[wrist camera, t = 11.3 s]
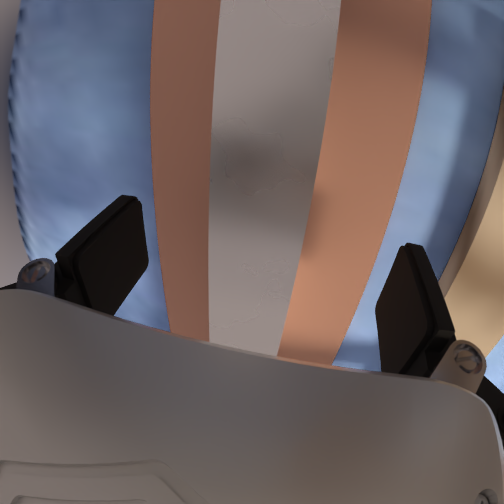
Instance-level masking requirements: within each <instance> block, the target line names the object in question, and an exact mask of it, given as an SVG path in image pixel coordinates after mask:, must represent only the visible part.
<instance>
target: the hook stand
mask: <svg viewBox="0 0 504 504" xmlns="http://www.w3.org/2000/svg"><path fill="white" fill-rule="evenodd" d="M438 284H439V286H440V289H441V291H442V294H443V297H444V299H445V302H446V305H447V308H448V310H449V313H450V316H451V319H452V322H453V325H454V328H455V331H456V332H455V336H456V340H466V341H470V342H471V343H473V344H475V345H476V346H477V347H478V348H479V349H480V350H481V352H482V353H483V355H484V357H485V358H486V356H487V355H488V354H489V353H490V351H491V350H492V349H493V348H494V346H495V345H496V344H497V343H498V341H499V340H500V339H501V337H502V336H503V335H504V87H503V93H502V99H501V104H500V110H499V114H498V119H497V123H496V128H495V132H494V136H493V140H492V144H491V148H490V151H489V155H488V158H487V162H486V165H485V168H484V172H483V175H482V178H481V181H480V184H479V187H478V190H477V193H476V196H475V198H474V201H473V204H472V207H471V209H470V212H469V214H468V217H467V220H466V222H465V225H464V227H463V229H462V232H461V234H460V237H459V239H458V241H457V244H456V246H455V248H454V250H453V252H452V255H451V257H450V259H449V261H448V263H447V265H446V267H445V269H444V272H443V274H442V276H441V278H440V280H439V282H438Z"/></svg>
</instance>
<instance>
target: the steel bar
mask: <svg viewBox="0 0 504 504" xmlns="http://www.w3.org/2000/svg"><path fill="white" fill-rule="evenodd" d="M340 6H341V0H221V4H220V15H219V25H218V37H217V49H216V62H215V77H214V92H213V110H212V130H211V154H210V185H209V248H208V278H209V341H210V342H211V343H215V344H220V345H224V346H229V347H233V348H238V349H242V350H247V351H252V352H257V353H262V354H267V355H272V356H277V353H278V349H279V345H280V341H281V337H282V333H283V329H284V325H285V321H286V317H287V312H288V308H289V304H290V300H291V295H292V291H293V287H294V282H295V278H296V273H297V269H298V264H299V259H300V255H301V250H302V245H303V240H304V236H305V231H306V226H307V221H308V216H309V211H310V206H311V200H312V195H313V190H314V184H315V179H316V174H317V168H318V162H319V157H320V151H321V145H322V139H323V133H324V127H325V121H326V114H327V108H328V101H329V94H330V87H331V80H332V73H333V66H334V58H335V50H336V42H337V34H338V25H339V16H340Z"/></svg>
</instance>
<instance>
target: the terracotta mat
mask: <svg viewBox="0 0 504 504" xmlns="http://www.w3.org/2000/svg"><path fill="white" fill-rule="evenodd" d="M220 4H221V0H155V2H154V14H153V28H152V45H151V74H150V126H151V156H152V175H153V191H154V204H155V216H156V227H157V237H158V246H159V255H160V263H161V271H162V279H163V286H164V293H165V300H166V307H167V313H168V319H169V325H170V331H171V333H175V334H179V335H183V336H186V337H190V338H194V339H199V340H203V341H207V342H210V341H209V278H208V248H209V185H210V154H211V130H212V110H213V92H214V77H215V62H216V49H217V37H218V25H219V15H220ZM431 7H432V0H341V6H340V16H339V25H338V34H337V42H336V50H335V58H334V66H333V73H332V80H331V87H330V94H329V101H328V108H327V114H326V121H325V127H324V133H323V139H322V145H321V151H320V157H319V162H318V168H317V174H316V179H315V184H314V190H313V195H312V200H311V206H310V211H309V216H308V221H307V226H306V231H305V236H304V240H303V245H302V250H301V255H300V259H299V264H298V269H297V273H296V278H295V282H294V287H293V291H292V295H291V300H290V304H289V308H288V312H287V317H286V321H285V325H284V329H283V333H282V337H281V341H280V345H279V349H278V353H277V356H278V357H283V358H289V359H294V360H300V361H306V362H312V363H318V364H325V365H332V363H333V361H334V358H335V356H336V354H337V352H338V350H339V348H340V346H341V343H342V341H343V339H344V337H345V335H346V332H347V330H348V328H349V325H350V323H351V321H352V319H353V316H354V314H355V311H356V309H357V307H358V304H359V302H360V299H361V297H362V294H363V292H364V289H365V287H366V284H367V282H368V279H369V276H370V274H371V271H372V268H373V266H374V263H375V260H376V257H377V255H378V252H379V249H380V246H381V243H382V240H383V237H384V234H385V231H386V228H387V225H388V222H389V219H390V216H391V213H392V210H393V206H394V203H395V200H396V196H397V193H398V189H399V186H400V182H401V179H402V175H403V171H404V167H405V164H406V160H407V156H408V152H409V148H410V143H411V139H412V135H413V130H414V126H415V121H416V116H417V111H418V106H419V101H420V95H421V90H422V84H423V78H424V71H425V65H426V57H427V49H428V41H429V31H430V20H431Z"/></svg>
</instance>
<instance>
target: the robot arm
mask: <svg viewBox="0 0 504 504" xmlns="http://www.w3.org/2000/svg"><path fill="white" fill-rule="evenodd" d="M55 255H56V258H57V262H56V263H55V264H54V263H53V261H52V260H50V259H47V258H40V259H36V260H33V261H31V262H29V263H28V264H26V265H25V266H24V267H23V268H22V269H21V270H20V272H19V274H18V278H17V283H14V284H11V285H8V286H5V287H2V288H0V504H504V394H503V393H502V392H501V391H500V390H499V389H498V388H497V387H496V386H495V385H494V384H493V383H491V382H490V381H489V380H488V379H487V378H486V377H485V376H484V374H485V371H486V367H487V366H486V360H485V357H484V355H483V353H482V352H481V350H480V349H479V348H478V347H477V346H476V345H475V344H473V343H471V342H470V341H466V340H456V336H455V332H456V331H455V328H454V325H453V322H452V319H451V316H450V313H449V310H448V308H447V305H446V302H445V299H444V297H443V294H442V291H441V289H440V286H439V284H438V281H437V279H436V276H435V274H434V271H433V269H432V266H431V264H430V262H429V259H428V257H427V255H426V252H425V250H424V248H423V246H421V245H416V244H412V243H406V245H405V246H401V247H400V248H399V251H398V253H397V256H396V258H395V261H394V263H393V266H392V268H391V271H390V273H389V276H388V278H387V280H386V283H385V285H384V287H383V290H382V292H381V294H380V296H379V299H378V301H377V303H376V308H375V314H376V322H377V330H378V339H379V349H380V360H381V372H377V371H368V370H361V369H354V368H346V367H339V366H332V365H325V364H318V363H312V362H306V361H300V360H294V359H289V358H283V357H278V356H272V355H267V354H262V353H257V352H252V351H247V350H242V349H238V348H233V347H229V346H224V345H220V344H215V343H211V342H207V341H203V340H199V339H194V338H190V337H186V336H183V335H179V334H175V333H171V332H167V331H164V330H160V329H156V328H153V327H149V326H146V325H142V324H139V323H135V322H132V321H128V320H125V319H122V318H119V317H115V316H114V314H115V313H116V311H117V310H118V309H119V307H120V306H121V304H122V303H123V301H124V300H125V298H126V297H127V296H128V294H129V293H130V291H131V290H132V288H133V287H134V286H135V284H136V283H137V281H138V280H139V279H140V277H141V276H142V274H143V273H144V272H145V270H146V269H147V267H148V262H149V259H148V252H147V245H146V237H145V229H144V221H143V212H142V204H141V202H140V201H138V199H137V197H135V196H127V195H121V196H120V197H118V198H117V199H116V200H115V201H114V202H112V203H111V204H110V205H109V206H108V207H106V208H105V209H104V210H103V211H102V212H101V213H99V214H98V215H97V216H96V217H95V218H94V219H92V220H91V221H90V222H89V223H88V224H87V225H86V226H85V227H83V228H82V229H81V230H80V231H79V232H78V233H77V234H76V235H75V236H74V237H73V238H71V239H70V240H69V241H68V242H67V243H66V244H65V245H64V246H63V247H62V248H61V249H60V250H59V251H58V252H57V253H56V254H55Z"/></svg>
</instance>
